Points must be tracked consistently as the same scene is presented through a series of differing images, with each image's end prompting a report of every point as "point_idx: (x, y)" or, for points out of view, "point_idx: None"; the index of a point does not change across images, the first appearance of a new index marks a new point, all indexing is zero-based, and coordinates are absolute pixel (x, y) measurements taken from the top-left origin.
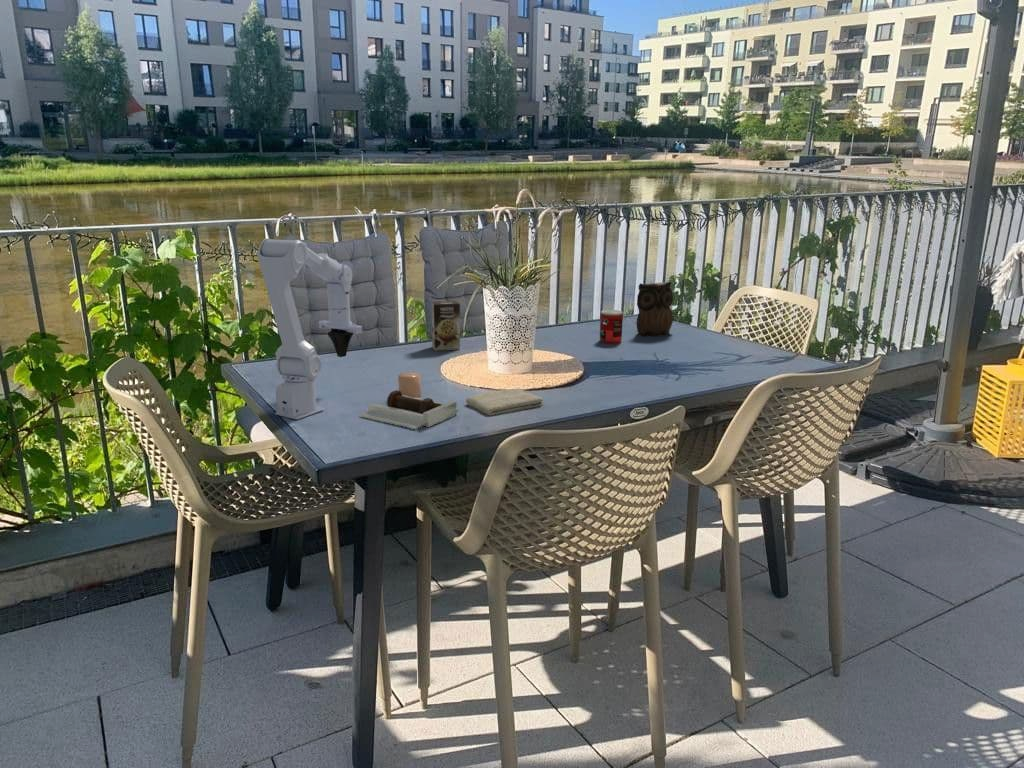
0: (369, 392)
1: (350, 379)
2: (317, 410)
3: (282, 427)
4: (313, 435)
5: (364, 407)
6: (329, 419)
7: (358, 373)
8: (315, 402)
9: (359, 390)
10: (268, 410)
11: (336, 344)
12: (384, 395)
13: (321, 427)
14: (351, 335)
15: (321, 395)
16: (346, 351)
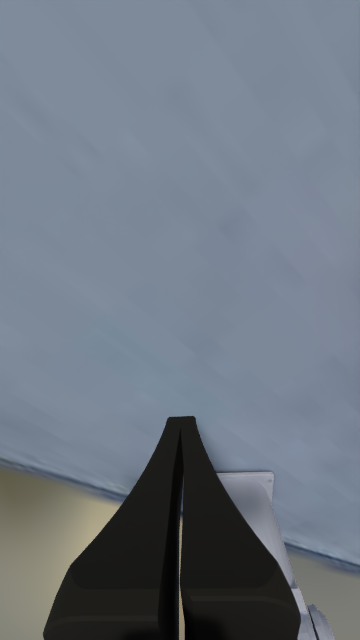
0: (266, 314)
1: (94, 242)
2: (270, 489)
3: None
4: (352, 547)
5: (343, 412)
6: (321, 494)
7: (39, 152)
8: (271, 508)
9: (223, 318)
10: None
11: (178, 536)
12: (331, 309)
13: (338, 522)
14: (266, 557)
15: (171, 407)
16: (198, 434)
